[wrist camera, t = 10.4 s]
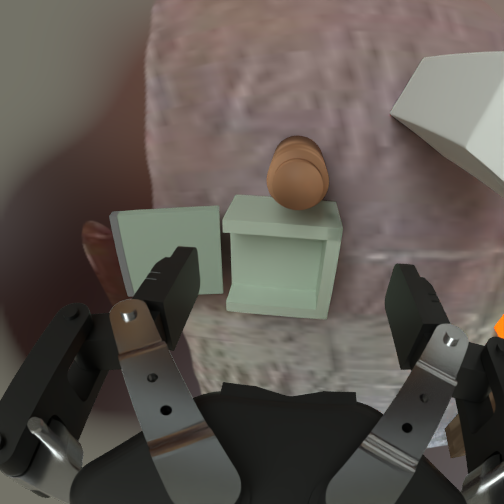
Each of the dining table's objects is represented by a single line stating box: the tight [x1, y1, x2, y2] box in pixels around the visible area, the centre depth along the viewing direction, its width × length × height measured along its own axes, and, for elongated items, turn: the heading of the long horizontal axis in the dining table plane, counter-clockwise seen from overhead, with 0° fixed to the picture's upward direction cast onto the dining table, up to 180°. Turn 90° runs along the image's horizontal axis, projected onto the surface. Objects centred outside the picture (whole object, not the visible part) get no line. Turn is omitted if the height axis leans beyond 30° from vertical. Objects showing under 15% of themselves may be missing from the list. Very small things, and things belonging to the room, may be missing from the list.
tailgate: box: [109, 206, 223, 296], centre depth 31 cm, size 1×10×11 cm
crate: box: [222, 195, 343, 319], centre depth 31 cm, size 10×10×6 cm
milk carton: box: [390, 51, 504, 198], centre depth 15 cm, size 7×7×19 cm
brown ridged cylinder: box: [267, 136, 329, 210], centre depth 25 cm, size 5×5×8 cm
